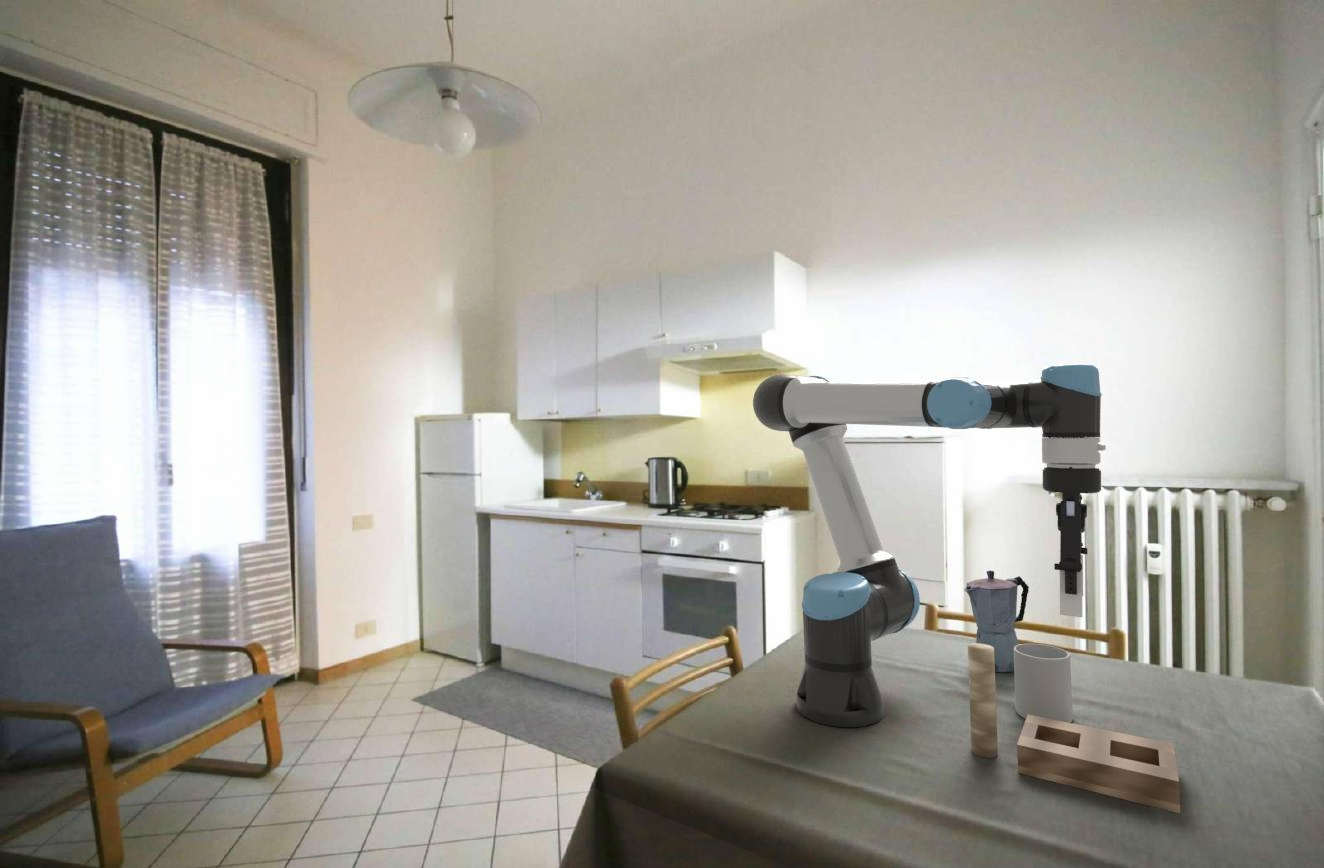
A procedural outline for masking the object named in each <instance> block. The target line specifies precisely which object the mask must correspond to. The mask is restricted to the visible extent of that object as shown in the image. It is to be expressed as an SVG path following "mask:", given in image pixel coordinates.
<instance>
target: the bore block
mask: <svg viewBox="0 0 1324 868" xmlns="http://www.w3.org/2000/svg"><path fill="white" fill-rule="evenodd" d="M1016 750H1017V751H1016V752H1017V753H1016V754H1017V756H1016V757H1017V773H1018V774H1023V775H1026V776H1030V777H1035V778H1038V779H1041V780H1046V781H1051V782H1055V783H1057V784H1060V785H1061V784H1062V785H1066V786H1069V787H1074V788H1076V789H1077V788H1078V789H1081V790H1085V791H1089V792H1093V793H1097V794H1102V795H1106V796H1110V797H1113V798H1118V799H1122V800H1124V801H1125V800H1126V801H1129V802H1133V803H1134V802H1135V803H1138V804H1142V805H1146V806H1149V807H1154V808H1158V809H1161V810H1166V811H1169V812H1174V813H1177V814H1181V795H1180V778H1179V771H1178V766H1177V757H1176V753H1175V752H1176V751H1175V745H1174V743H1172V742H1168V741H1167V742H1166V741H1162V740H1157V739H1152V738H1146V737H1144V736H1143V737H1142V736H1138V735H1133V734H1127V733H1122V732H1118V731H1113V730H1107V729H1103V728H1097V727H1093V726H1092V727H1091V726H1088V725H1087V726H1086V725H1083V724H1077V723H1072V722H1071V723H1068V722H1063V721H1058V720H1053V719H1048V718H1043V717H1038V716H1034V715H1029V714H1028V715H1027V718H1026V719H1025V721H1024V724H1023V727H1022V729H1021V732H1020V735H1019V738H1018V740H1017V744H1016Z"/></svg>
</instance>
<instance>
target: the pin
mask: <svg viewBox="0 0 1324 868" xmlns="http://www.w3.org/2000/svg"><path fill="white" fill-rule="evenodd" d="M967 659H968V660H967V661H968V662H967V665H968V691H969V694H968V695H969V714H970V715H969V717H970V718H969V721H970V744H971V745H970V746H971V747H970V750H971V752H972V753H973V754H974V755H976V756H979V757H981V758H986V759H994V758H996V757H998V755H999V752H998V751H999V750H998V749H999V748H998V728H997V725H998V724H997V699H996V698H997V697H996V696H997V693H996V672H995V663H994V648H993V647H992V646H990V645H986V644H980V643H976V642H974V643H968V644H967Z"/></svg>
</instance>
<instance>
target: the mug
mask: <svg viewBox="0 0 1324 868" xmlns="http://www.w3.org/2000/svg"><path fill="white" fill-rule="evenodd" d="M1071 663H1072V661H1071V655H1070V653H1069V652H1068V651H1067V650H1064V649H1062V648H1059V647H1057V646H1053V645H1048V644H1040V643H1021V644H1019V645H1017V646H1015V647H1014V672H1013V673H1014V707H1015V711H1016V713H1017V715H1019V716H1020V717H1021V718H1023V719H1025V720H1026V718H1027V715H1028V714H1029V715H1034V716H1038V717H1043V718H1048V719H1053V720H1058V721H1063V722H1068V723H1072V722H1073V720H1074V711H1073V694H1072V693H1073V692H1072V687H1073V686H1072V666H1071V665H1072V664H1071Z"/></svg>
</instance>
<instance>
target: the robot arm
mask: <svg viewBox="0 0 1324 868" xmlns="http://www.w3.org/2000/svg"><path fill="white" fill-rule="evenodd" d="M752 398H753V400H752V406H753V412H754V414H755V417H756V418H757V420H758V421H759V422H760V423H761V424H762V425H763V426H765V427H766V428H768V429H770V430H771V431H772V430H774V431H777V432H788V433H789V437H790V440H791V442H792V445H793V447H795V448H796V449H799V450H801V451H802V452H803V455H804V458H805V461H806V464H807V468H808V469H809V470H808V471H809V472H810V473H809V474H810V476H811V478H812V479H811V480H812V482H813V486H814V488H815V491H816V494H817V497H818V500H819V502H820V506H821V509H822V511H823V515H824V517H825V520H826V523H827V526H828V530H829V533H830V535H831V537H832V542H833V544H834V545H833V546H835V550H836V554H837V557H838V559H839V564H838V568H837V570H836V572H832V573H823V574H819V575H815V576H813V577H812V578H809V580H808V581H806V583H805V584H804V586H803V590H802V600H801V608H802V617H803V618H802V619H803V623H802V625H803V642H804V643H803V644H804V647H803V648H804V649H803V650H804V667H803V670H802V673H801V677H800V678H799V683H798V686H797V689H796V692H795V693H796V694H795V700H796V701H795V703H796V706H795V707H796V710H797V711H798V713H800V715H802V716H803V717H805V718H806V719H808V720H810V721H812V722H815V723H819V724H822V725H825V726H831V727H839V728H860V727H861V728H862V727H867V726H870V725H873V724H876V723H878V722H879V721H881V720H882V719H883V718H884V715H885V706H884V705H885V704H884V698H883V696H882V692H881V690H880V687H879V685H878V681H877V679H876V675H875V672H874V670H873V663H872V660H873V659H872V642H873V641H876V640H878V639H880V638H883V637H885V636H888V635H892V634H896V633H898V632H900V631H902V630H903V629H904V628H906V627H907V626H909V625H910V624H911V623H913V621H914V620H915V618H916V617H917V615H918V613H919V610H920V602H921V598H920V593H919V588H918V587H917V585H916V582H915V581H914V580H913V578H912V576H910V575H908V574H907V573H905V572H904V571H903V570H900V569H899V567H898V564H897V561H896V558H895V556H894V555H892V554H890V553H888V552H887V551H885V550H884V548H883V546H882V543H881V540H880V537H879V534H878V532H877V529H876V527H875V524H874V521H873V518H872V516H871V512H870V509H869V507H868V505H867V501H866V497H865V496H864V493H863V489H862V488H861V485H860V482H859V479H858V476H857V473H856V471H855V467H854V465H853V463H852V462H853V461H852V460H851V456H850V453H849V452H848V448H847V446H846V443H845V439H844V436H845V434H846V433H847V431H848V426H847V425H863V426H865V425H866V426H867V425H870V426H871V425H872V426H873V425H874V426H898V427H928V428H944V429H945V428H946V429H952V430H966V429H967V430H969V429H983V430H985V429H987V430H991V429H1012V428H1013V429H1015V428H1017V429H1018V428H1041V430H1042V434H1041V435H1042V437H1041V462H1042V463H1043V464H1046V466H1044V467H1043V468H1042V489H1043V490H1044V491H1046V492H1050V493H1061V495H1062V497H1061V500H1060V502H1059V501H1058V502H1056V504H1055V515H1056V517H1057V530H1058V531H1059V532H1060V538H1059V539H1060V541H1059V546H1060V549H1059V552H1060V553H1059V554H1060V555H1059V558H1060V559H1059V562H1058V563H1054V564H1053V565H1054V567H1053V568H1054V571H1055V570H1056V571H1059V615H1061V616H1067V617H1068V616H1069V617H1074V618H1083V597H1084V555H1088V547H1084V543H1083V540H1082V539H1083V538H1082V535H1083V533H1084V532H1086V518H1087V516H1088V504H1087V503H1082V500H1083V496H1082V494H1097V493H1100V492H1101V491H1102V471H1101V469H1100V468H1099V467H1097V465H1099V464H1100V463H1101V453H1100V451H1101V452H1102V451H1105V450H1107V449H1106V447H1107V446H1106V445H1105V444H1104V443H1101V406H1102V404H1101V402H1102V393H1101V383H1100V372H1099V369H1098V368H1097V367H1096V366H1095V365H1093V364H1088V363H1073V364H1071V363H1069V364H1058V365H1057V364H1056V365H1049V366H1045V367H1044V368H1043V369H1042V371H1041V375H1040V379H1035V380H1030V381H1029V380H1027V381H994V380H993V381H991V380H982V379H980V380H979V379H973V378H970V377H950V378H946V379H945V378H944V379H906V380H904V379H903V380H902V379H901V380H867V381H866V380H864V381H863V380H859V381H852V380H851V381H834V380H832V379H830V378H825V377H822V376H818V375H810V376H809V375H808V376H805V375H804V376H803V375H795V374H785V373H781V374H776V375H775V374H774V375H771V376H769V377H767V378H766V379H764V380H763V381H762V382H760V384H758V387H757V388H756V389H755V391H754V395H753V397H752Z"/></svg>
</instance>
